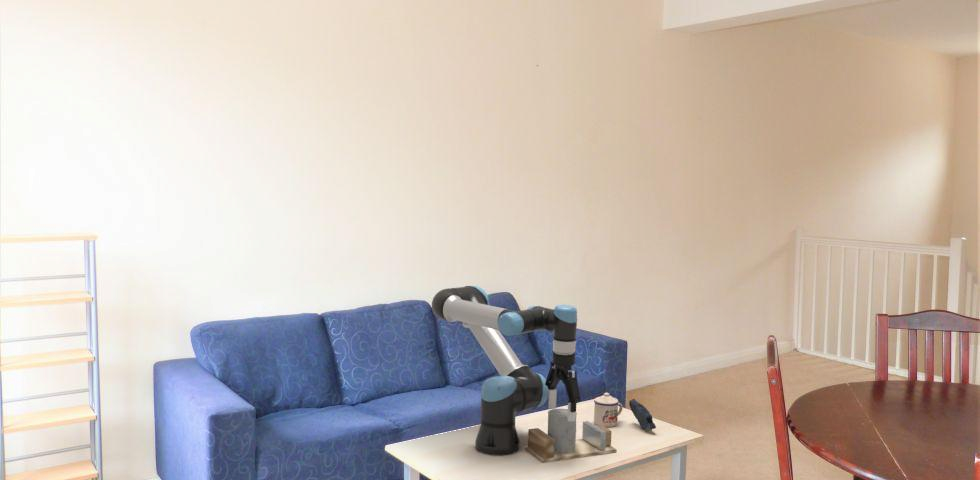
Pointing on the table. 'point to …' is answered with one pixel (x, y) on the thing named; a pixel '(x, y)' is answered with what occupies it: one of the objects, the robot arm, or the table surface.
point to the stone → (642, 415)
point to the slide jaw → (596, 435)
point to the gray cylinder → (562, 431)
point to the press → (544, 447)
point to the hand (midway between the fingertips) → (561, 414)
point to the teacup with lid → (606, 410)
